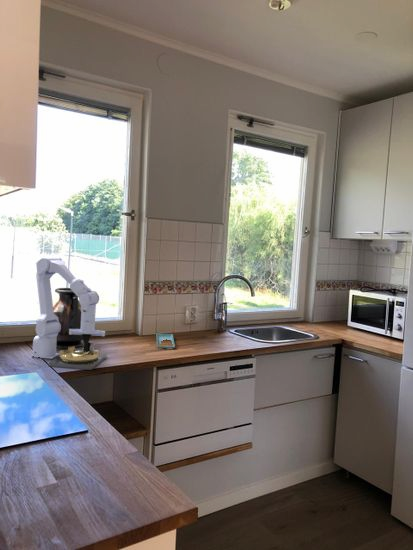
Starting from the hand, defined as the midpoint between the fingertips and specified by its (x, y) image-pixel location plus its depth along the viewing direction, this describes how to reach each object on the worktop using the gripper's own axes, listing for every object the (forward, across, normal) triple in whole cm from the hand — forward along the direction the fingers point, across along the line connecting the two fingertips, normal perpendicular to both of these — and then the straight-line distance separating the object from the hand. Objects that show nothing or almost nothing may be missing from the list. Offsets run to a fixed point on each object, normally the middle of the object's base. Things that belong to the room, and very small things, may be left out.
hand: (86, 351), depth 189 cm
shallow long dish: (+6, -35, -42) cm, 55 cm away
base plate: (+5, +3, -3) cm, 7 cm away
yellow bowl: (+4, +3, -3) cm, 6 cm away
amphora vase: (+6, +13, -29) cm, 32 cm away
